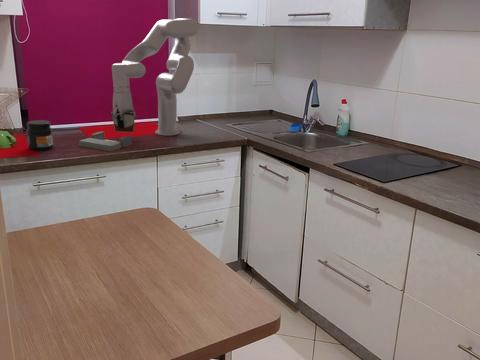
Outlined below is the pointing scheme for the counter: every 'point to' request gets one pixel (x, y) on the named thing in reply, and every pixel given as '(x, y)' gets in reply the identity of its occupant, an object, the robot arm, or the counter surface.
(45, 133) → the supplement container
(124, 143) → the grey piece
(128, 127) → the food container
